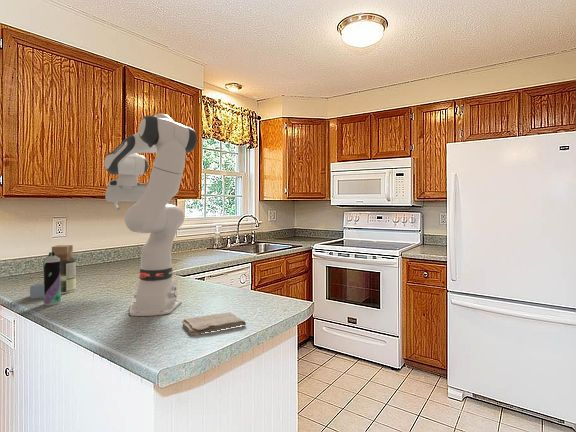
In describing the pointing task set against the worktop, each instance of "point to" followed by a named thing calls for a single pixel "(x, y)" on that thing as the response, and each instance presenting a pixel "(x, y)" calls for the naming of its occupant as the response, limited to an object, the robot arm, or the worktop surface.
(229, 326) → the washcloth
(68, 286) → the coffee can
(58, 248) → the walnut block
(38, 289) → the slate block
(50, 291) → the spray can
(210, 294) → the worktop surface
